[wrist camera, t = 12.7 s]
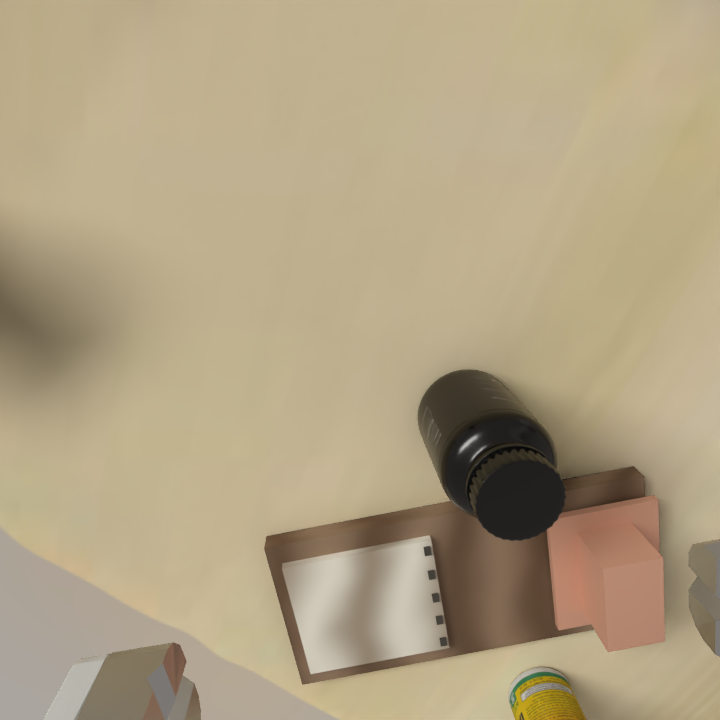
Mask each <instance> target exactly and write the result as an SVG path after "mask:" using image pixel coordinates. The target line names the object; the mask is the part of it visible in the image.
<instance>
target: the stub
mask: <svg viewBox="0 0 720 720" xmlns="http://www.w3.org/2000/svg"><path fill="white" fill-rule="evenodd" d="M547 539H548V549H549V560H550V571H551V581H552V592H553V603H554V613H555V624H556V626H557V628H558V630H564V629H569V628H575V627H580V626H585V625H591V624H592V626H593V628H594V629H595V631H596V633H597V634H598V636H599V638H600V639H601V641H602V643H603V644H604V646H605V648H606V650H607V651H608V652H611V651H617V650H622V649H627V648H632V647H638V646H643V645H648V644H654V643H659V642H664V641H665V626H664V573H663V557H662V556H661V555H660V553H659V506H658V499H657V498H656V497H655V496H654V495H652V496H647V497H642V498H636V499H631V500H626V501H621V502H615V503H610V504H605V505H600V506H594V507H589V508H584V509H579V510H573V511H568V512H563V513H561V514H560V515H559V517H558V520H557V521H556V522H554V524H553V526H552V527H550V528H548V529H547Z"/></svg>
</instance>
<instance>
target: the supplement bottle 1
mask: <svg viewBox="0 0 720 720" xmlns="http://www.w3.org/2000/svg"><path fill="white" fill-rule="evenodd" d="M418 425H419V430H420V433H421V436H422V438H423V441H424V443H425V446H426V448H427V451H428V453H429V455H430V458H431V460H432V463H433V465H434V468H435V470H436V472H437V475H438V477H439V480H440V482H441V484H442V487H443V489H444V491H445V493H446V494H447V496H448V497H449V499H450V500H451V501H452V502H453V503H454V505H456V506H457V507H458V508H459V509H460V510H462V511H463V512H465V513H467V514H469V515H471V516H473V517H476V518H477V520H478V521H479V522H480V524H481V526H482V527H483V528H485V529H486V530H487V532H488V533H490V534H493V535H494V536H495V537H498V538H501V539H503V540H510V541H515V540H518V541H522V540H524V539H530V538H532V537H536V536H538V535H540V534H541V533H544V532H546V530H547V529H548V528H550V527H552V526H553V524H554V522H556V521H557V520H558V517H559V515H560V514H561V513H562V508H563V507H564V505H565V498H566V495H565V490H566V488H565V486H564V485H563V479H562V478H561V477H560V475H559V473H558V471H557V470H556V469H557V454H556V449H555V446H554V443H553V441H552V439H551V437H550V435H549V434H548V432H547V431H546V430H545V428H544V427H543V426H542V425H541V424H540V423H539V422H538V421H537V419H536V418H535V417H534V416H533V415H532V414H531V413H530V412H529V411H528V410H527V409H526V408H525V407H524V406H523V405H522V404H521V403H520V401H519V400H518V399H517V398H516V397H515V396H514V395H513V394H512V393H511V392H510V391H509V390H508V389H507V388H506V387H505V386H504V385H503V384H502V383H501V382H500V381H499V380H498V379H496V378H495V377H493V376H492V375H490V374H488V373H485V372H482V371H478V370H459V371H454V372H451V373H449V374H446V375H444V376H443V377H441V378H439V379H438V380H437V381H435V382H434V383H433V384H432V385H431V386H430V387H429V388H428V390H427V391H426V393H425V394H424V396H423V398H422V400H421V403H420V406H419V410H418Z"/></svg>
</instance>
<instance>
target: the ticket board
mask: <svg viewBox="0 0 720 720" xmlns="http://www.w3.org/2000/svg"><path fill="white" fill-rule="evenodd" d="M563 485H564V486H565V488H566V490H565V495H566V498H565V505H564V507H563V508H562V513H563V512H568V511H573V510H579V509H584V508H589V507H594V506H600V505H605V504H610V503H615V502H621V501H626V500H631V499H636V498H642V497H645V485H644V476H643V475H642V474H641V473H640V472H639V471H638V470H637V469H636V468H635V467H628V468H623V469H617V470H612V471H607V472H602V473H596V474H591V475H586V476H581V477H575V478H570V479H565V480H563ZM264 549H265V553H266V556H267V560H268V564H269V567H270V571H271V574H272V578H273V581H274V585H275V589H276V592H277V596H278V599H279V603H280V606H281V610H282V614H283V617H284V621H285V624H286V628H287V631H288V635H289V639H290V642H291V646H292V649H293V653H294V656H295V660H296V663H297V667H298V671H299V674H300V678H301V681H302V685H303V684H309V683H314V682H319V681H325V680H330V679H335V678H340V677H346V676H351V675H356V674H362V673H367V672H372V671H377V670H383V669H388V668H393V667H398V666H404V665H409V664H414V663H420V662H425V661H430V660H435V659H441V658H446V657H451V656H457V655H462V654H467V653H472V652H478V651H483V650H488V649H494V648H499V647H504V646H509V645H515V644H520V643H525V642H531V641H536V640H541V639H546V638H552V637H557V636H562V635H568V634H573V633H578V632H583V631H589V630H594V628H593V626H592V624H591V625H585V626H580V627H575V628H569V629H564V630H558V628H557V626H556V624H555V613H554V603H553V592H552V581H551V571H550V560H549V549H548V539H547V530H546V532H544V533H541V534H540V535H538V536H536V537H532V538H530V539H524V540H522V541H518V540H515V541H510V540H503V539H501V538H498V537H495V536H494V535H493V534H490V533H488V532H487V530H486V529H485V528H483V527H482V526H481V524H480V522H479V521H478V520H477V518H476V517H473V516H471V515H469V514H467V513H465V512H463V511H462V510H460V509H459V508H458V507H457V506H456V505H454V503H453V502H452V501H449V502H444V503H439V504H434V505H429V506H423V507H418V508H413V509H408V510H402V511H397V512H392V513H387V514H381V515H376V516H371V517H366V518H360V519H355V520H350V521H345V522H339V523H334V524H329V525H324V526H318V527H313V528H308V529H303V530H297V531H292V532H287V533H282V534H276V535H271V536H267V537H266V542H265V548H264Z"/></svg>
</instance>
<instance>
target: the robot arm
mask: <svg viewBox="0 0 720 720" xmlns="http://www.w3.org/2000/svg"><path fill="white" fill-rule="evenodd" d="M689 567H690V568H691V569H692V570H693V571H694V573H695V574H696V575H697V576H698V577H697V579H696V580H695V581H694V583H693V584H692V586H691V587H690V589H689V608H690V611H691V614H692V617H693V619H694V622H695V625H696V627H697V629H698V631H699V633H700V634H701V636H702V638H703V639H704V641H705V642H706V643H707V645H708V646H709V647H710V648H711V650H712V651H713V652H714V653H715V654H716V655H718V656H720V539H717V540H712V541H707V542H702V543H697V544H693V545H692V547H691V549H690V551H689ZM185 664H186V659H185V656H184V654H183V651H182V649H181V646H180V645H179V644H176V643H168V644H162V645H156V646H150V647H144V648H137V649H131V650H126V651H119V652H113V653H112V654H105V655H99V656H93V657H87V658H81V659H80V660H79V661H77V662H76V663H75V664H74V665H73V666H72V667H71V669H70V671H69V673H68V675H67V677H66V678H65V680H64V682H63V684H62V686H61V687H60V689H59V691H58V693H57V695H56V697H55V699H54V701H53V702H52V704H51V706H50V708H49V710H48V711H47V714H46V715H45V717H44V719H43V720H201V709H200V702H199V696H198V693H197V690H196V687H195V684H194V683H193V682H192V681H190V680H189V679H187V678H186V677H184V676H183V671H184V668H185Z"/></svg>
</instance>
